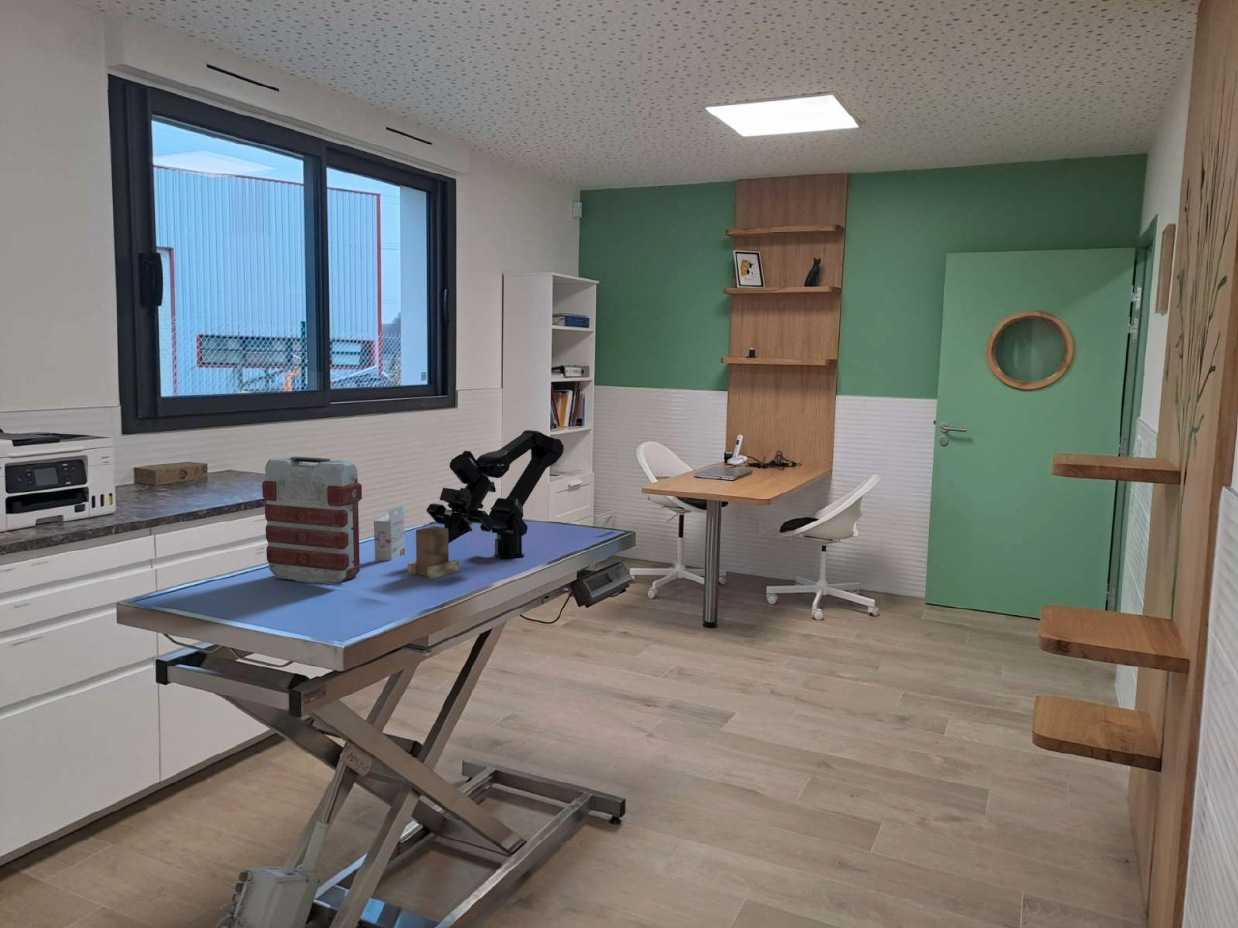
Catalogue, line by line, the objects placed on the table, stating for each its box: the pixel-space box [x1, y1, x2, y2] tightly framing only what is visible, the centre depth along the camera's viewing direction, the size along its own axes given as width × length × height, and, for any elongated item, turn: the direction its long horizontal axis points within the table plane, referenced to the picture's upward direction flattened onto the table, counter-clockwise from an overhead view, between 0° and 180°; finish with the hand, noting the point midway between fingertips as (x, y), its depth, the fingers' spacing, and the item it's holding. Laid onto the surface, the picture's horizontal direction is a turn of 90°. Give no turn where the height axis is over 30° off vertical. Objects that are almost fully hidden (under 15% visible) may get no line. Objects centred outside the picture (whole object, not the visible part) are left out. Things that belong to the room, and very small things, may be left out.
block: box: [415, 525, 450, 577], centre depth 223 cm, size 6×5×11 cm
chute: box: [407, 559, 460, 580], centre depth 222 cm, size 18×10×4 cm, turn 147°
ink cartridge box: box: [373, 504, 406, 563], centre depth 239 cm, size 9×5×15 cm, turn 168°
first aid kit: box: [261, 456, 363, 586], centre depth 218 cm, size 23×8×30 cm, turn 71°
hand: (443, 544), depth 226 cm, fingers closed
